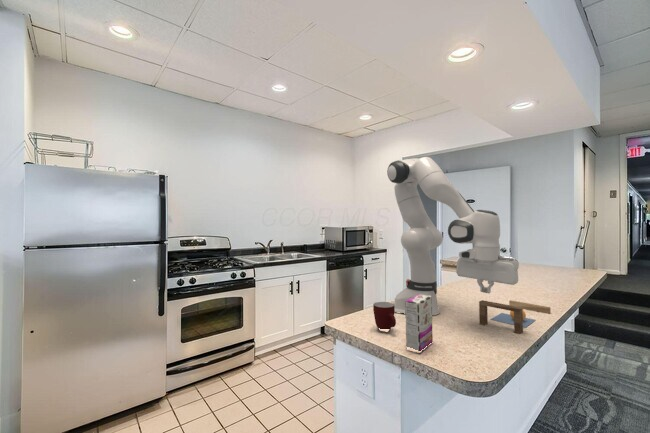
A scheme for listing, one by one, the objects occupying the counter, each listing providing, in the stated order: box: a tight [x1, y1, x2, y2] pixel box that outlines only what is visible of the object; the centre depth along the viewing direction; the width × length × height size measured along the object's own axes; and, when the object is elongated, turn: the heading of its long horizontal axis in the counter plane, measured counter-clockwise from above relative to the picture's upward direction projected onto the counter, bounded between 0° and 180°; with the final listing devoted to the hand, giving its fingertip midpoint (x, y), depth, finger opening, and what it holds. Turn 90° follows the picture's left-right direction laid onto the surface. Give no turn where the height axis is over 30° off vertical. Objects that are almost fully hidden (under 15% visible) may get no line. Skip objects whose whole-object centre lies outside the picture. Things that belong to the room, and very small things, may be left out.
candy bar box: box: [404, 294, 434, 351], centre depth 101 cm, size 11×5×16 cm, turn 139°
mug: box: [372, 301, 397, 330], centre depth 115 cm, size 10×8×10 cm
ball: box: [509, 309, 527, 320], centre depth 125 cm, size 6×6×6 cm
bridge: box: [478, 299, 524, 335], centre depth 117 cm, size 3×14×9 cm, turn 41°
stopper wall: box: [508, 299, 551, 315], centre depth 141 cm, size 2×16×2 cm, turn 41°
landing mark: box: [489, 312, 536, 329], centre depth 126 cm, size 13×13×1 cm
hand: (485, 292), depth 109 cm, fingers closed
